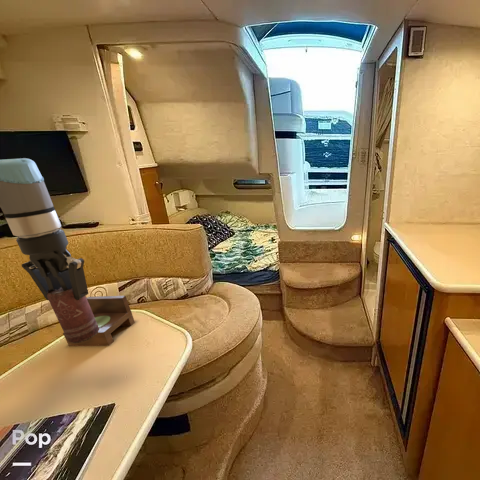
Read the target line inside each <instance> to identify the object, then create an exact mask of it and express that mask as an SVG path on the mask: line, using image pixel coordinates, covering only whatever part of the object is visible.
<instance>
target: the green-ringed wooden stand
mask: <svg viewBox="0 0 480 480" xmlns="http://www.w3.org/2000/svg"><path fill="white" fill-rule="evenodd" d="M86 298H87V301H88V303H89V305H90V308H91V310H92V313H93V315H94V317H95V320H96V322H97V324H98V327H99V331H98V333H97V334H96V335H95V336H94V337H92V338H90V339H89V340H86V341H84V342H81V343H71V342H69V341H68V340H67V338H66V336H65V334H64V332H62V334H63V337H64V339H65V341H66V343H67V345H68V347H104V346H105V347H109V346H111V345H112V343H114V342H115V341H114V338H113V336H112V333H113V332H114V331H116V330H117V329H118V328H119V327H131V326H133V325H134V324H135V323H136V321H135V318H134V315H133V313H132V310H131V307H130V304H129V301H128V298H127V296H126V295H102V296H101V295H100V296H99V295H97V296H86Z"/></svg>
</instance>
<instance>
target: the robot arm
mask: <svg viewBox="0 0 480 480" xmlns="http://www.w3.org/2000/svg"><path fill="white" fill-rule="evenodd" d="M0 209H1V211H2V213H3V216H4V218H5V220H6V222H7V225H8V227H9V229H10V231H11V233H12V235H13V236H15V237H17V238H16V244H17V246H18V247H19V251H21V254H22V255H25V256H28V259H29V260H28V261H27V262H24V263H22V264H21V268H22V269H24V271H26V272H27V274H28V275H29V276H30V277H31V279H32V280H33V282H34V283H35V285H36V286H37V288H38V289H39V291H40V292H41V294H42V296H43V297H44V298H45V300H47V301H48V302H49V300H48V298H47V294H48V291H49V290H50V291H55V289H56V290H58V289H60V288H62V289H63V291H66V290H69V289H71V288H72V290H73V294H74V298H75V299H76V300H79V299H81V298H83V297H84V296H86V297H87V296H88V295H89V289H88V284H87V279H86V275H85V270H84V265H85V259H84V258H78V259H77V258H75V257H73V256H72V255H71V253H70V252H69V251H68V249H67V247H68V245H69V240H68V237H67V235H66V233H65V230H63V229H62V224H61V221H60V219H59V216H58V214H57V211H56V208H55V207H54V204H53V200H52V199H51V195H50V193H49V191H48V188H47V185H46V182H45V178H44V176H42V174H41V171H40V170H39V167H38V165H37V163H36V162H35V161H34V160H32V159H30V158H26V157H23V158H7V159H0Z"/></svg>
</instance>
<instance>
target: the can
mask: <svg viewBox="0 0 480 480" xmlns="http://www.w3.org/2000/svg"><path fill="white" fill-rule="evenodd" d="M47 298H48V300H49V301H48V300H47V301H48V302H49V304H50V306H51V308H52V310H53V312H54V315H55V317H56V319H57V320H58V323H59V325H60V327H61V330H62V331H63V333H64V334H65V336H66V338H67V340H68V341H69V342H71V343H81V342H84V341H86V340H89V339H90V338H92V337H94V336H95V335H96V334H97V333H98V331H99V327H98V324H97V322H96V320H95V317H94V315H93V313H92V310H91V308H90V305H89V303H88V301H87V295H86V296H84V297H83V298H81V299H79V300H76V299H75V298H74V294H73V290H72V288H71V289H69V290H66V291H63V289H62V288H60V289H58V290H56V289H55V291H50V290H49V291H48V294H47Z"/></svg>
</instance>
